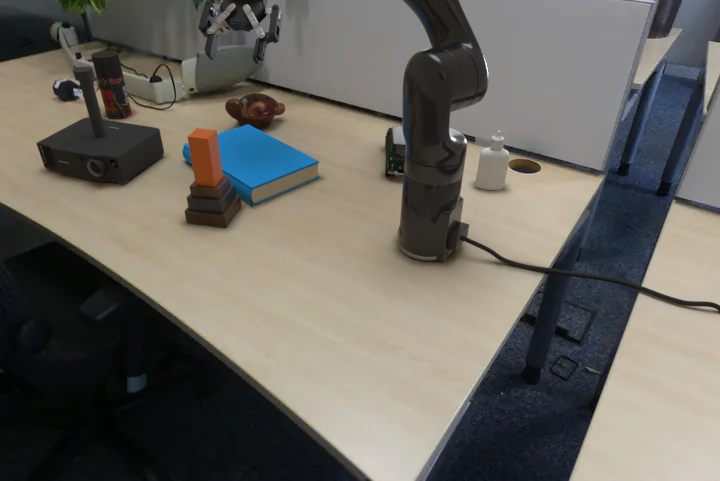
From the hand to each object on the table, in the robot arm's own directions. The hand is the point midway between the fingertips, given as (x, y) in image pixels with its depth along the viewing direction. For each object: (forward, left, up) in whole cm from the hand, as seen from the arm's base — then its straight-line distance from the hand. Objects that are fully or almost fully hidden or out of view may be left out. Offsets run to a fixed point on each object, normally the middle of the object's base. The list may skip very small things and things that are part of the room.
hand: (233, 59), depth 96 cm
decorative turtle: (+17, -24, -25) cm, 38 cm away
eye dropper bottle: (-42, -26, -25) cm, 55 cm away
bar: (-3, +12, -18) cm, 22 cm away
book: (+3, -5, -25) cm, 26 cm away
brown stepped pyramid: (-3, +12, -25) cm, 28 cm away
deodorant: (+50, -10, -25) cm, 57 cm away
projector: (+30, +10, -25) cm, 40 cm away
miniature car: (-23, -26, -25) cm, 42 cm away
